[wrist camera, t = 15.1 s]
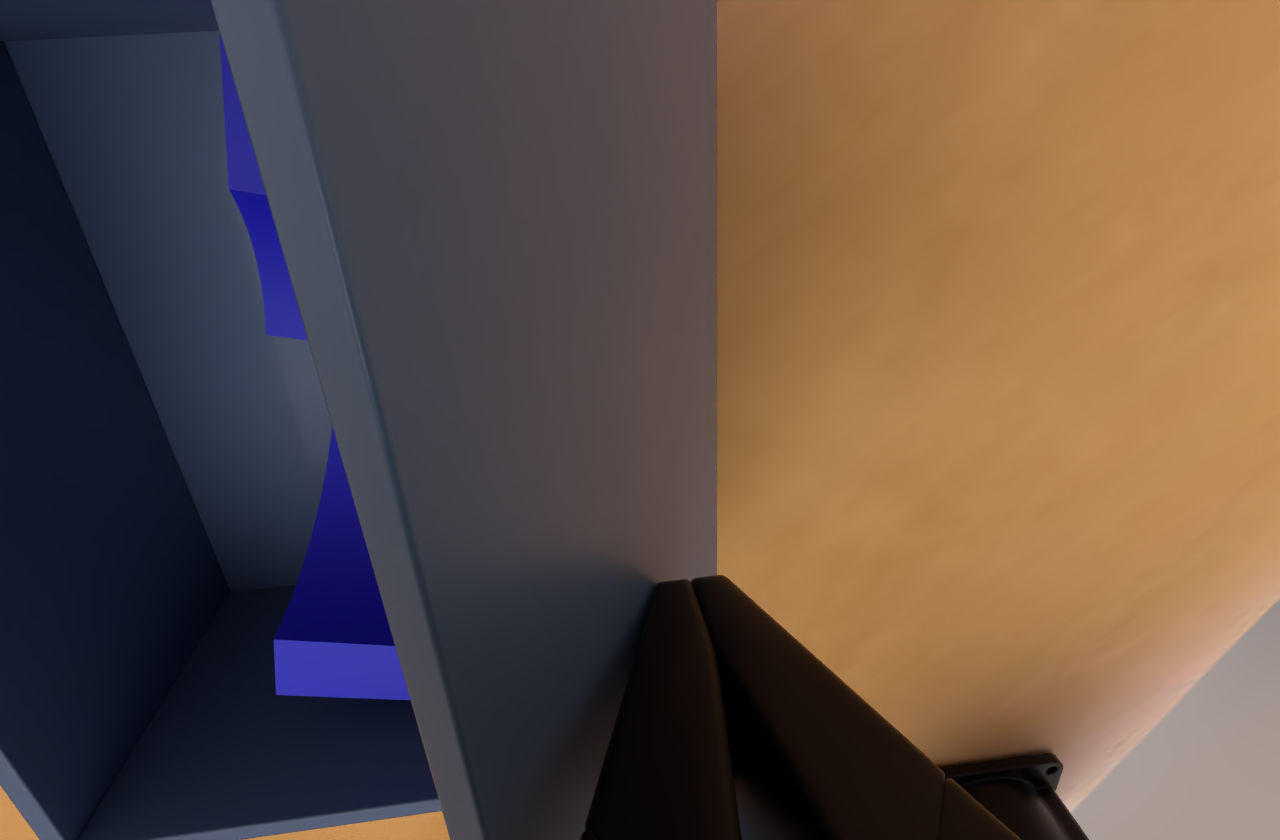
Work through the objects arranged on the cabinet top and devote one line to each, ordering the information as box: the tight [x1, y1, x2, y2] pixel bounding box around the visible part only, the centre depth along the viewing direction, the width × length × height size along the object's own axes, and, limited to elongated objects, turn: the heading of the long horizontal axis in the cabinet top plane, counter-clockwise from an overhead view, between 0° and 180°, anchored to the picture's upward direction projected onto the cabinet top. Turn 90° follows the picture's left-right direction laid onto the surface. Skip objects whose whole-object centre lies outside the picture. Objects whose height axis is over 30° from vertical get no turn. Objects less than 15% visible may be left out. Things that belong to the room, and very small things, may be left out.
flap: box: [211, 0, 717, 840], centre depth 8 cm, size 6×15×1 cm
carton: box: [0, 0, 442, 840], centre depth 14 cm, size 13×15×8 cm
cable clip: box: [219, 31, 410, 700], centre depth 14 cm, size 12×4×6 cm, turn 169°
